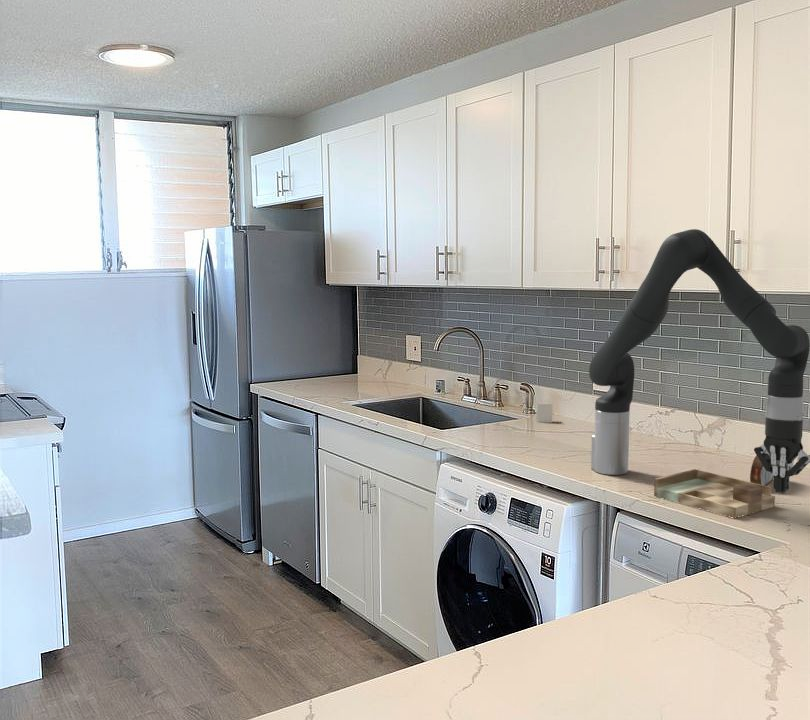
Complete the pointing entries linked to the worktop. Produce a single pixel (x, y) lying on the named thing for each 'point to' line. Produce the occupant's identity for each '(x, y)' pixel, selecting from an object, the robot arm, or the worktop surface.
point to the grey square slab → (544, 413)
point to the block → (747, 493)
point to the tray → (710, 492)
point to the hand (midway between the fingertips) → (781, 492)
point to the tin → (760, 473)
